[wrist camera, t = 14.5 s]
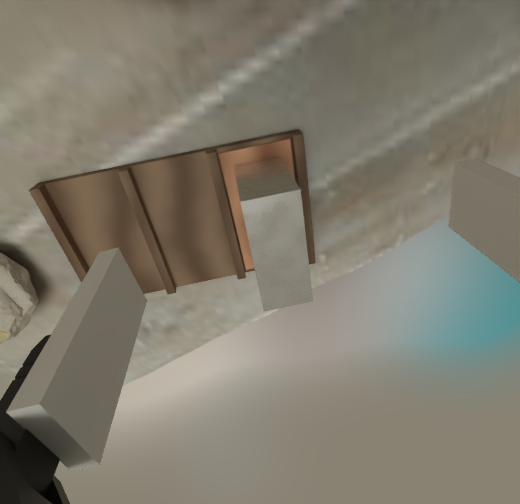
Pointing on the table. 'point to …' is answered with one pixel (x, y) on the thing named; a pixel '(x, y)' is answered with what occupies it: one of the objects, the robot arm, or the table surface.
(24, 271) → the fossil replica
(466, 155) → the table surface
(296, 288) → the gray rectangular block
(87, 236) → the rack
